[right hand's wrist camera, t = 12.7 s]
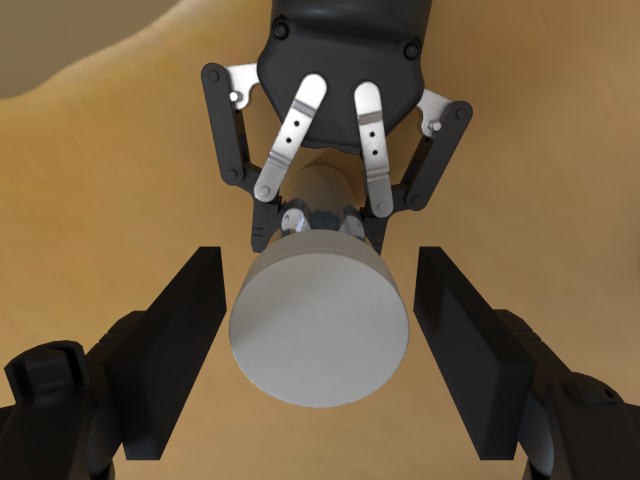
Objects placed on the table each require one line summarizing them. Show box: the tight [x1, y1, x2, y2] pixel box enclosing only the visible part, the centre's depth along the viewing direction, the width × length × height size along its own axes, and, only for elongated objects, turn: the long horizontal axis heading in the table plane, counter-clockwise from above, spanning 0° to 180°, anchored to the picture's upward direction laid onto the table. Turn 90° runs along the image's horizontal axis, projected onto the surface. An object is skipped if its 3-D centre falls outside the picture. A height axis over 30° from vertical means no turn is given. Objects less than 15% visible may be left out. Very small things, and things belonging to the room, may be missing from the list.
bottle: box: [265, 165, 374, 250], centre depth 20 cm, size 5×5×18 cm
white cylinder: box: [229, 229, 409, 408], centre depth 12 cm, size 5×5×2 cm
